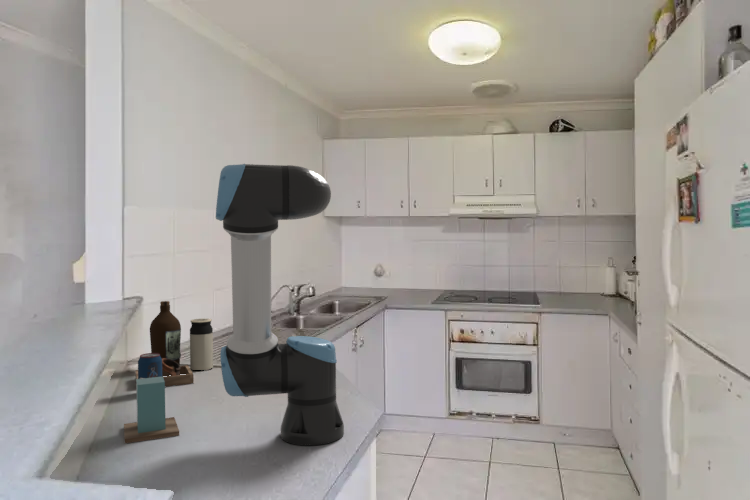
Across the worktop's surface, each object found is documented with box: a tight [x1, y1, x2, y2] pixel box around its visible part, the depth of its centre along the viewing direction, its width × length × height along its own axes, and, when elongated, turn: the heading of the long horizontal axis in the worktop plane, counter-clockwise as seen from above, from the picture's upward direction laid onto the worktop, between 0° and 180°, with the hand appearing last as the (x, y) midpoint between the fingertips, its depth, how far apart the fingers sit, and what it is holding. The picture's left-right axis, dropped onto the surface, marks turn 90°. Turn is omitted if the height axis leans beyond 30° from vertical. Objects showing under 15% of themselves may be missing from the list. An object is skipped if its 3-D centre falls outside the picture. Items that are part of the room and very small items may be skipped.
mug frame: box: [135, 364, 194, 387], centre depth 186 cm, size 15×17×3 cm
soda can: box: [137, 352, 162, 379], centre depth 171 cm, size 7×7×12 cm
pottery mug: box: [162, 358, 181, 376], centre depth 187 cm, size 12×10×8 cm
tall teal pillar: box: [135, 376, 166, 433], centre depth 137 cm, size 6×6×12 cm
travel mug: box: [189, 318, 214, 371], centre depth 204 cm, size 8×8×18 cm
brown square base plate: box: [123, 416, 180, 444], centre depth 137 cm, size 12×12×9 cm
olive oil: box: [149, 300, 182, 367], centre depth 202 cm, size 11×11×25 cm
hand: (248, 312), depth 161 cm, fingers open, 13 cm apart
